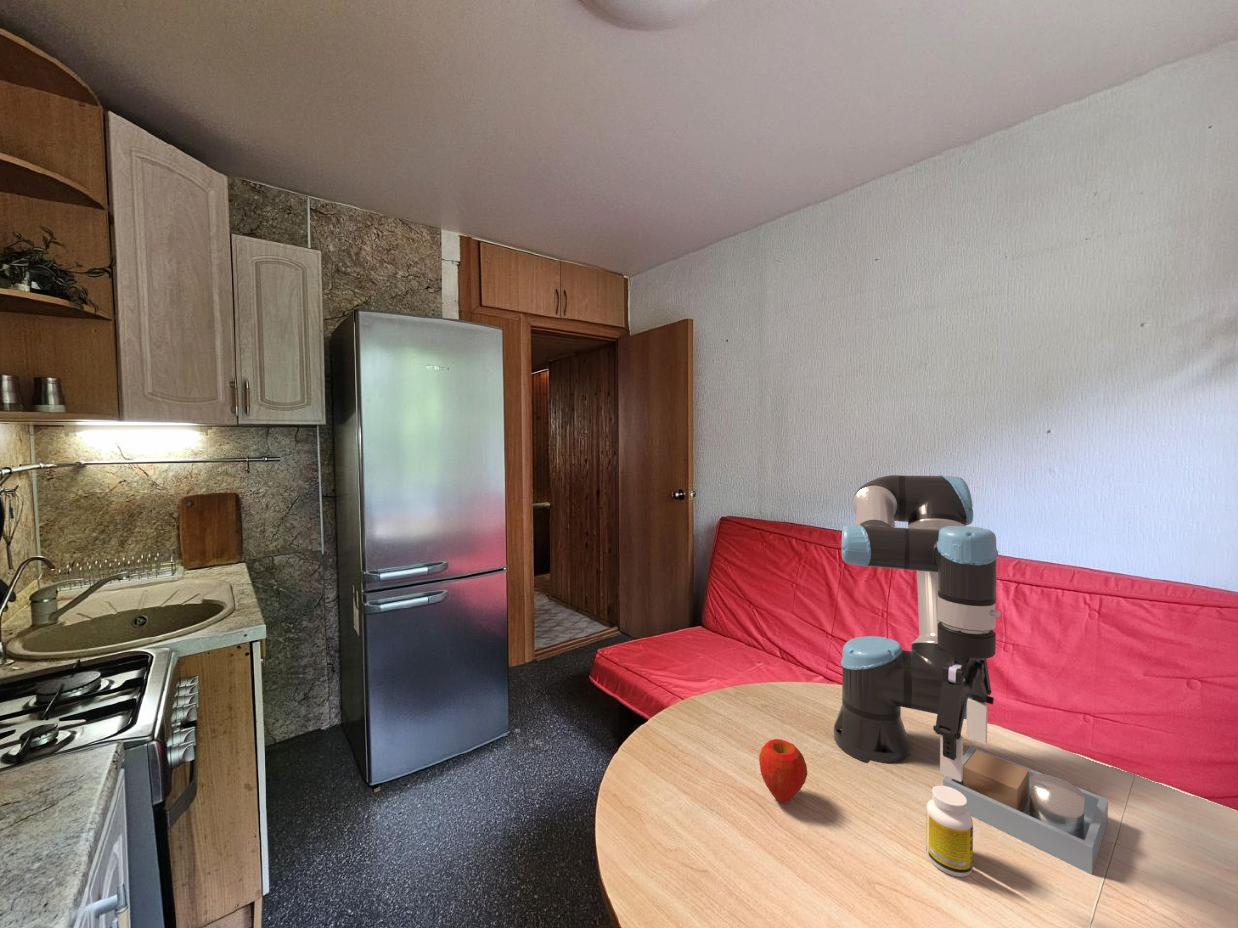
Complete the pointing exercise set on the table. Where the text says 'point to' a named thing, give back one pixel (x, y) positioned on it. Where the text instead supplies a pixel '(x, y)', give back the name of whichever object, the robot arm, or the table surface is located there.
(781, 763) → the apple
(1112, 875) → the table surface
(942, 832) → the pill bottle
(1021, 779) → the walnut block
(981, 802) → the crate
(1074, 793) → the metal tin
